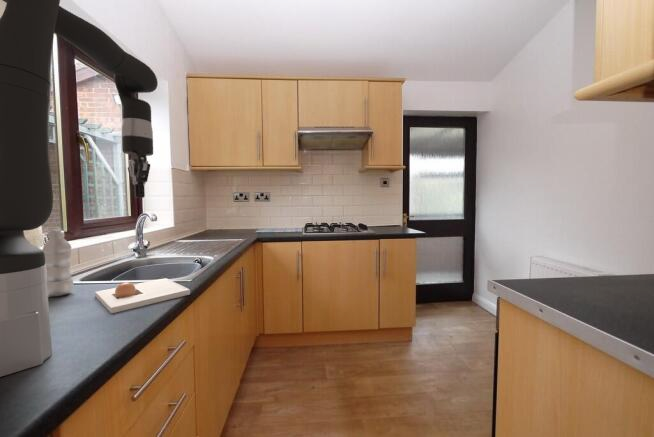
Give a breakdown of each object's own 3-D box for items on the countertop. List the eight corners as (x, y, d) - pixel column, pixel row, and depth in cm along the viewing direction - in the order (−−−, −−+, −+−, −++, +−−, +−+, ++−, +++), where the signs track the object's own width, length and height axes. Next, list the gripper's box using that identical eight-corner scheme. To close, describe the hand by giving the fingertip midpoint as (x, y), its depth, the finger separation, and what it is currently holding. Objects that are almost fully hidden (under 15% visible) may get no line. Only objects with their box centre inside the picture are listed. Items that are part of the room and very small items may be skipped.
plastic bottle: (41, 297, 89) (36, 231, 88) (68, 290, 95) (64, 229, 94) (50, 300, 86) (45, 232, 85) (78, 293, 92) (74, 230, 91)
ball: (117, 286, 83) (116, 303, 83) (138, 284, 86) (137, 300, 87) (114, 281, 86) (112, 297, 86) (133, 278, 90) (132, 294, 90)
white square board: (190, 294, 90) (189, 289, 90) (111, 313, 76) (111, 307, 75) (166, 282, 104) (165, 278, 104) (95, 296, 89) (95, 291, 89)
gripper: (160, 135, 82) (161, 197, 83) (145, 143, 91) (146, 198, 92) (128, 130, 77) (130, 196, 78) (116, 139, 86) (118, 198, 87)
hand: (139, 197), depth 85 cm, fingers closed
